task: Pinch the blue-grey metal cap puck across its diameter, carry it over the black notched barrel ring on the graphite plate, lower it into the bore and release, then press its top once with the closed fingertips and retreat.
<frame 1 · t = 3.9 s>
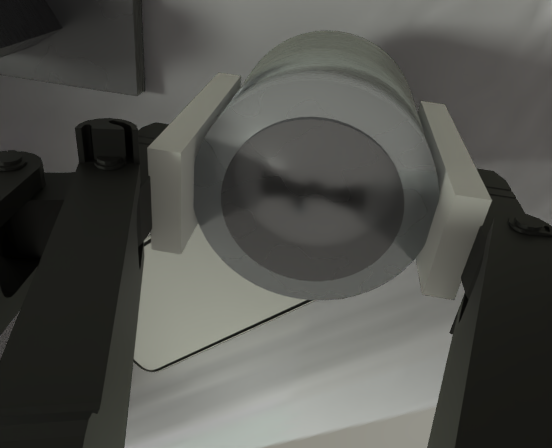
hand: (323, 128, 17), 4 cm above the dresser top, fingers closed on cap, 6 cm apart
smartphone: (202, 278, 26), on the dresser top
cap: (324, 122, 17), point 3 cm above the dresser top, touching gripper
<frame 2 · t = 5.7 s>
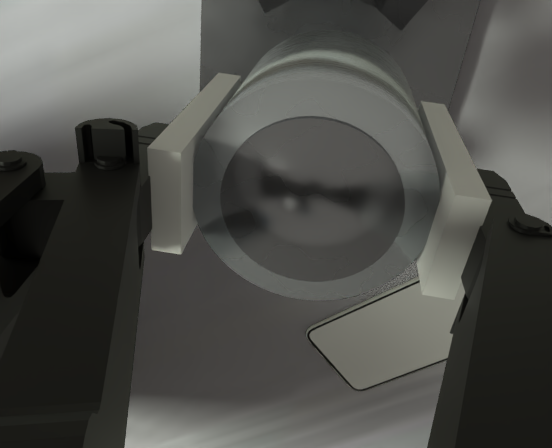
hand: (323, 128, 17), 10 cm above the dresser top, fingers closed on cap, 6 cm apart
smartphone: (419, 318, 34), on the dresser top
cap: (324, 121, 17), point 10 cm above the dresser top, touching gripper
lens barrel: (327, 60, 26), on the dresser top
when the fingers open (1 cm above the dresser top, at t = 7.3 s): cap stays where it is, resting on lens barrel.
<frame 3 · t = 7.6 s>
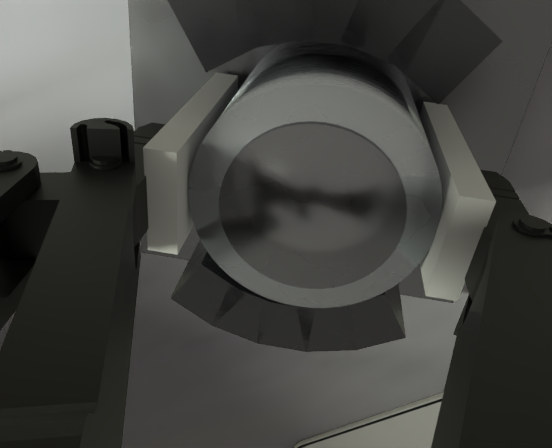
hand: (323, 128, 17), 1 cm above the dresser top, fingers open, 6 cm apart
smartphone: (441, 436, 26), on the dresser top
cap: (323, 125, 17), point 1 cm above the dresser top, touching gripper, lens barrel
lens barrel: (318, 119, 18), on the dresser top
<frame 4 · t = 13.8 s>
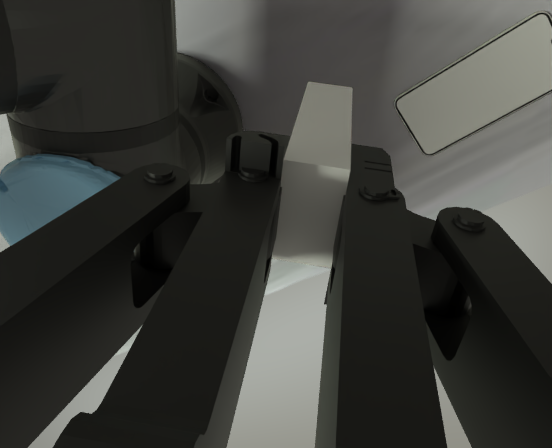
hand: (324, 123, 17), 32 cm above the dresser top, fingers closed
smartphone: (478, 87, 47), on the dresser top
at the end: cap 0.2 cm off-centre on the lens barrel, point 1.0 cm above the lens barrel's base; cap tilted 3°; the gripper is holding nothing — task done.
